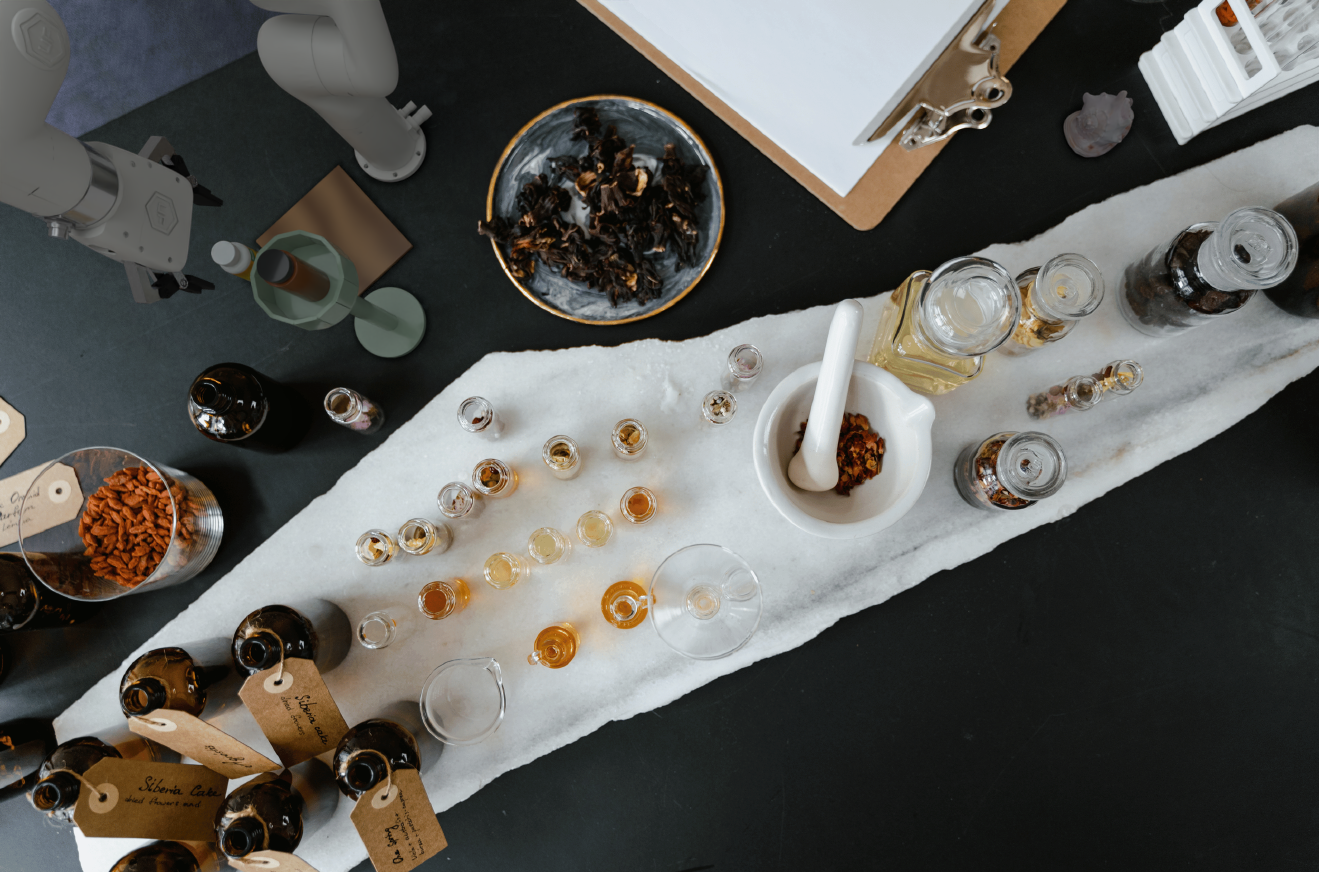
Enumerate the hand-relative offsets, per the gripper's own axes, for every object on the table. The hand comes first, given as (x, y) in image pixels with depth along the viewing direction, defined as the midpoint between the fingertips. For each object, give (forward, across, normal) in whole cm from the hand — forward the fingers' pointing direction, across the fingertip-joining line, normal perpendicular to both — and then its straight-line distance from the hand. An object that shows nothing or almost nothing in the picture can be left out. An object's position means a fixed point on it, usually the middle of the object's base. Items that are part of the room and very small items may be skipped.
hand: (206, 244), depth 76 cm
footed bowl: (+41, 0, -3) cm, 41 cm away
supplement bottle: (+42, +8, +21) cm, 47 cm away
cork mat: (+41, +13, +8) cm, 44 cm away
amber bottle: (+16, 0, -3) cm, 17 cm away
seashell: (+42, +42, -123) cm, 137 cm away
